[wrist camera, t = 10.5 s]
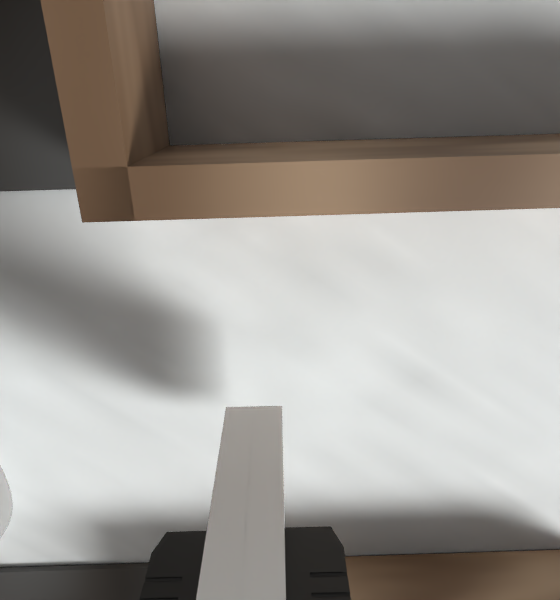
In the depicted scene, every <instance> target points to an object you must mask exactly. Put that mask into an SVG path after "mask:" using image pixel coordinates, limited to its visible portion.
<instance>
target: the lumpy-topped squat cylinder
mask: <svg viewBox="0 0 560 600" xmlns="http://www.w3.org/2000/svg"><path fill="white" fill-rule="evenodd" d="M12 508H13V503H12V495H11V491H10V487H9V484H8V482H7V479H6V477H5V474H4V472H3V470H2V468H1V466H0V538H1V537H2V535H3V534H4V532H5V530H6V529H7V527H8V525H9V522H10V519H11V516H12Z"/></svg>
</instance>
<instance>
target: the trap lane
mask: <svg viewBox="0 0 560 600" xmlns="http://www.w3.org/2000/svg"><path fill="white" fill-rule="evenodd" d="M58 189H76V191H77V197H78V202H79V207H80V213H81V218H82V222H111V221H143V220H176V219H209V218H242V217H275V216H307V215H340V214H373V213H406V212H438V211H471V210H504V209H537V208H560V134H532V135H498V136H465V137H432V138H399V139H366V140H332V141H299V142H266V143H233V144H200V145H170V144H169V135H168V126H167V117H166V108H165V99H164V90H163V80H162V71H161V62H160V53H159V44H158V35H157V26H156V17H155V8H154V0H0V191H25V190H58ZM345 561H346V568H347V576H348V581H349V588H350V597H351V600H560V550H536V551H505V552H474V553H443V554H412V555H381V556H350V557H345ZM148 565H149V563H133V564H102V565H71V566H40V567H9V568H0V600H140V595H141V591H142V588H143V584H144V583H145V576H146V573H147V569H148Z"/></svg>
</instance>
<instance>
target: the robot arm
mask: <svg viewBox="0 0 560 600" xmlns="http://www.w3.org/2000/svg"><path fill="white" fill-rule="evenodd" d="M140 600H351V597H350V588H349V581H348V576H347V568H346V561H345V554H344V548H343V546H342V544H341V542H340V541H339V539H338V538H337V536H336V534H335V533H334V531H333V530H332V528H331V527H296V528H285V516H284V471H283V431H282V406H259V407H226V411H225V417H224V424H223V430H222V437H221V443H220V449H219V456H218V462H217V469H216V475H215V481H214V488H213V494H212V500H211V507H210V513H209V520H208V526H207V531H186V532H167V533H166V534H165V535H164V537H163V538H162V540H161V541H160V542H159V544H158V545H157V546H156V548H155V549H154V551H153V552H152V554H151V558H150V561H149V565H148V569H147V573H146V576H145V583H144V584H143V588H142V591H141V595H140Z"/></svg>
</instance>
